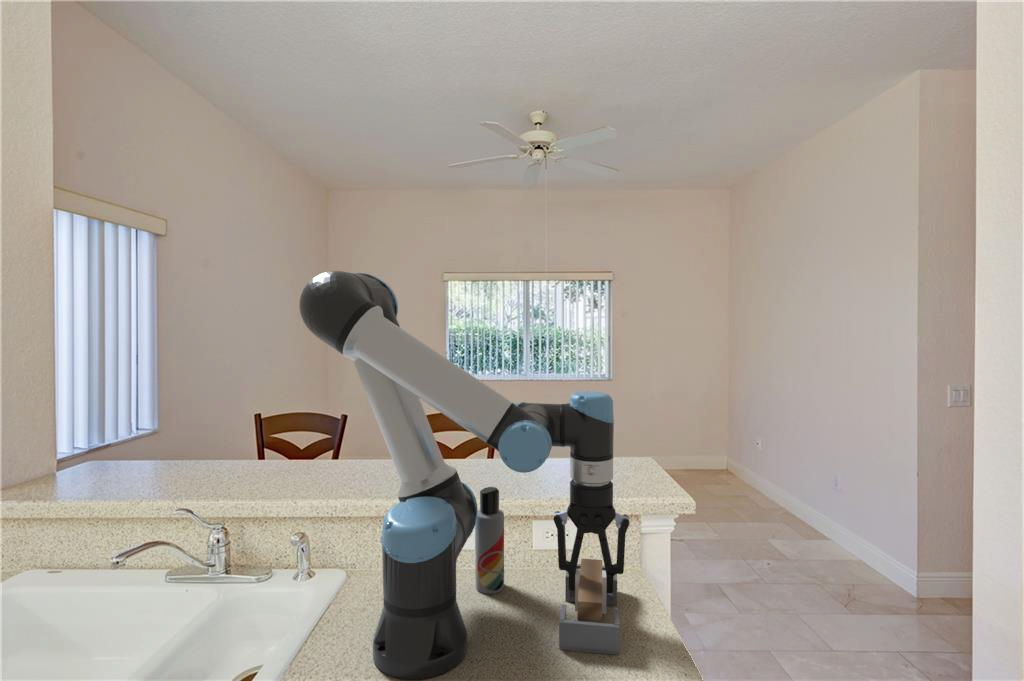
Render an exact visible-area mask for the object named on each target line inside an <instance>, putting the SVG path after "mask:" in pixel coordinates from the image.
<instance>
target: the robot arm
mask: <svg viewBox="0 0 1024 681" xmlns="http://www.w3.org/2000/svg"><path fill="white" fill-rule="evenodd" d="M396 296H397V295H396V294H395V293H394V290H393V289H392V287H391V286H390V285H388V284H387V283H386V282H385V281H384V280H382V279H380V278H379V277H377V276H375V275H371V274H368V273H363V272H356V273H354V272H349V271H348V272H347V271H342V270H330V271H325V272H322V273H319V274H316V276H314V277H312V278H311V279H310V280H309V281H308V282H307V283H306V285H305V286H304V288H303V289H302V292H301V294H300V296H299V297H300V298H299V304H298V306H299V313H300V317H301V319H302V322H303V323H304V325H305V326H306V328H307V329H308V330H309V331H310V332H311V333H312V334H313V335H314V336H315V337H317V338H318V339H319V340H321V341H322V342H324V343H325V344H326V345H328V347H331V348H333V350H336V351H337V352H338V353H340V354H341V356H342V357H345V358H346V359H348V360H351V361H352V362H353V364H354V367H355V368H356V369H355V370H356V372H357V374H358V377H359V379H360V383H361V384H362V386H363V389H364V391H365V394H366V396H367V399H368V401H369V404H370V407H371V410H372V412H373V415H374V418H375V419H376V421H377V425H378V426H379V429H380V432H381V434H382V437H383V439H384V442H385V445H386V447H387V450H388V452H389V454H390V457H391V460H392V462H393V465H394V467H395V469H396V472H397V475H398V477H399V480H400V485H399V488H398V489H397V490H398V491H397V493H396V496H397V498H398V500H399V502H398V503H396V504H395V505H393V506H392V507H391V508H390V509H389V510H388V511H387V512H386V514H385V515H384V518H383V521H382V529H381V535H380V536H381V537H380V540H381V552H382V590H383V592H382V593H383V594H382V595H383V599H382V600H383V608H382V609H381V614H380V617H379V620H378V623H377V626H376V630H375V633H374V636H373V641H372V658H373V659H372V660H373V663H374V664H375V666H376V668H378V669H379V670H380V671H381V672H382V673H384V674H386V675H388V676H390V677H392V678H397V679H403V680H422V679H423V680H424V679H429V678H434V677H437V676H440V675H442V674H445V673H447V672H449V671H450V670H452V669H454V668H455V667H456V666H458V665H459V664H460V663H461V662H462V661H463V659H464V658H465V657H466V654H467V650H468V631H467V628H466V625H465V621H464V619H463V617H462V616H463V615H462V614H461V610H460V607H459V605H458V602H457V560H458V557H459V556H460V554H461V551H462V550H463V548H464V546H465V544H466V543H467V541H468V539H469V538H470V537H471V535H472V533H473V531H474V530H475V524H476V518H477V511H478V502H477V498H476V496H475V494H474V492H473V491H472V489H471V488H470V487H469V486H468V484H466V483H464V482H462V481H461V478H460V476H459V473H458V470H457V468H456V467H454V466H451V465H449V464H447V463H446V462H445V459H444V457H443V455H442V453H441V450H440V448H439V444H438V443H437V439H436V437H435V434H434V432H433V429H432V427H431V425H430V422H429V420H428V417H427V414H426V412H425V410H424V409H425V408H424V406H423V405H422V402H421V400H422V401H424V402H425V403H426V404H427V405H429V406H431V407H432V408H434V409H435V410H436V411H438V412H439V413H441V414H443V416H445V417H447V418H449V419H450V420H452V421H453V422H454V423H456V424H457V425H458V426H460V427H462V428H463V429H465V430H467V431H468V432H469V433H471V434H473V435H474V436H476V437H477V438H478V439H480V440H481V441H483V442H484V443H486V444H487V445H488V446H490V447H492V448H493V450H496V451H497V452H498V453H499V455H500V459H501V461H502V462H503V463H504V464H505V466H506V467H508V468H509V469H510V470H512V471H514V472H518V473H521V474H522V473H523V474H524V473H525V474H526V473H531V472H534V471H536V470H538V469H539V468H540V467H541V466H542V465H543V464H544V463H545V462H546V460H547V459H548V457H549V456H550V454H551V450H552V448H553V447H557V448H559V447H561V448H563V447H564V448H566V447H569V450H570V451H569V454H570V455H569V456H570V458H569V462H570V463H569V477H570V478H571V480H570V481H569V505H568V507H567V509H566V510H562V511H560V510H559V511H558V510H557V511H555V512H554V515H553V522H554V524H555V527H556V530H557V535H556V536H557V554H558V556H557V557H558V558H557V561H558V569H559V570H560V571H565V572H566V571H567V572H568V573H569V589H570V591H575V602H574V612H578V591H579V581H580V569H576V567H577V564H579V563H578V562H579V558H580V553H581V549H582V544H583V539H584V534H589V533H591V534H595V535H597V536H598V541H599V545H600V550H601V555H602V561H603V566H605V570H606V571H603V570H602V615H603V614H607V605H606V593H610V594H612V592H613V577H614V575H616V574H617V575H623V574H624V571H625V554H626V553H625V551H626V550H625V548H626V547H625V546H626V533H627V531H628V528H629V527H630V517H629V515H627V514H624V515H622V514H620V513H618V512H616V509H615V507H614V484H613V481H612V480H613V478H614V425H615V423H614V422H615V421H614V419H615V418H614V400H613V398H612V397H611V396H610V394H608V393H606V392H601V391H591V390H590V391H588V390H587V391H577V392H573V393H571V395H570V400H569V403H537V402H536V403H533V402H526V401H524V402H523V401H521V402H514V403H513V402H512V401H511V400H510V399H509V398H507V397H505V396H504V395H502V394H501V393H499V392H497V391H496V390H494V389H493V388H491V387H490V386H489V385H487V384H486V383H484V382H482V381H481V380H480V379H478V378H477V377H475V376H473V375H472V374H470V373H469V372H468V371H466V370H464V369H463V368H462V367H460V366H458V365H457V364H455V363H454V362H453V361H451V360H449V359H448V358H446V357H445V356H444V355H442V354H441V353H439V352H438V351H436V350H435V349H433V348H431V347H430V346H428V344H425V343H424V342H423V341H421V340H419V339H418V338H416V337H415V336H413V335H412V334H410V333H409V332H408V331H406V330H404V329H403V328H401V326H400V323H399V322H398V321H399V320H398V319H397V317H398V312H399V304H398V299H397V297H396ZM568 518H569V519H570V520H571V522H572V523H573V525H574V526H575V527H576V534H575V537H574V542H573V547H572V551H571V552H572V553H571V555H570V560H567V548H566V547H567V546H566V545H567V544H566V525H567V523H568ZM613 521H615V526H616V527H617V544H616V545H617V546H616V548H617V549H616V563H613V561H612V556H611V551H610V546H609V545H610V544H609V541H608V536H607V531H606V530H607V528H608V527H609V526H610V525H611V523H612V522H613Z"/></svg>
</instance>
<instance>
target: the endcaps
mask: <svg viewBox="0 0 1024 681" xmlns="http://www.w3.org/2000/svg"><path fill="white" fill-rule="evenodd" d="M580 568H581V563H577V567H576V569H580ZM602 570H603V571H606V570H605V565H602ZM564 600H565V602H568V603H575V591H570V589H569V573H568V572H567V571H565V599H564ZM608 605H609V606H618V574H616V575H614V577H613V592H612V594H610V593H606V606H608ZM560 606H561V607H560V613H559V614H560V615H559V621H558V649H559V650H561V651H563V650H566V651H573V652H574V651H575V652H582V653H584V652H585V653H592V654H593V653H594V654H595V653H596V654H604V655H605V654H606V655H614V656H615V655H616V656H620V610H619V608H613V623H603V622H602V623H595V622H583V621H578V620H572V619H571V620H570V619H567V604H565V603H562V604H561V605H560Z"/></svg>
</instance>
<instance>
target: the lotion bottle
mask: <svg viewBox="0 0 1024 681" xmlns="http://www.w3.org/2000/svg"><path fill="white" fill-rule="evenodd" d="M474 531H475V532H474V539H475V541H474V544H475V546H474V547H475V549H474V550H475V551H474V553H475V555H474V556H475V558H474V559H475V561H474V562H475V565H474V566H475V572H474V573H475V578H474V579H475V589H476V590H477V591H478V592H480V593H482V594H490V595H493V594H497V593H500V592H501V591H502V590H503V589H504V586H505V513H504V511H503V510H502V509H500V490H499V489H498V488H497V487H495V486H487V487H485V488H483V489H481V490H480V491H479V509H477V518H476V524H475V527H474Z"/></svg>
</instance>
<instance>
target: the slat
mask: <svg viewBox="0 0 1024 681" xmlns="http://www.w3.org/2000/svg"><path fill="white" fill-rule="evenodd" d="M580 564H581V568H580V581H579V591H578V611H577V621H583V622H595V623H603V613H602V566H603V559H594V558H593V559H592V558H581V560H580Z"/></svg>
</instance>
